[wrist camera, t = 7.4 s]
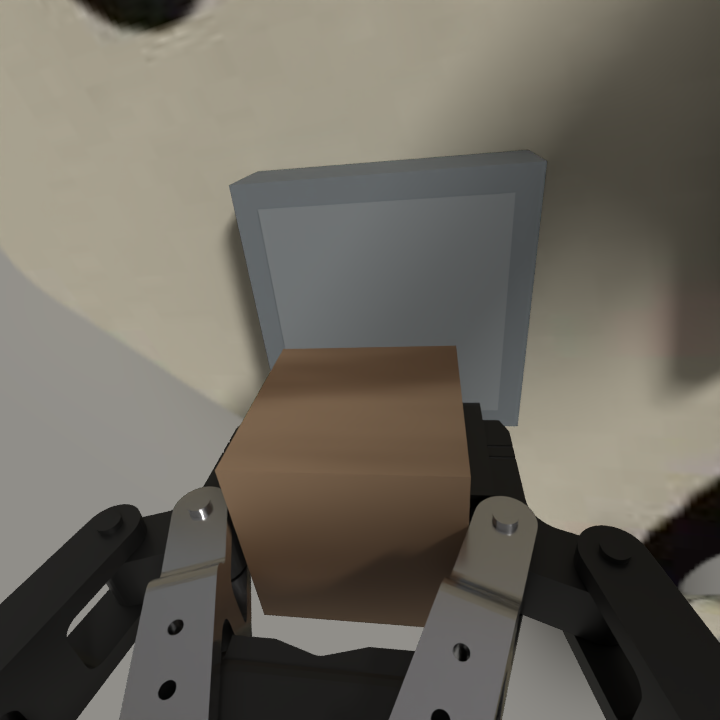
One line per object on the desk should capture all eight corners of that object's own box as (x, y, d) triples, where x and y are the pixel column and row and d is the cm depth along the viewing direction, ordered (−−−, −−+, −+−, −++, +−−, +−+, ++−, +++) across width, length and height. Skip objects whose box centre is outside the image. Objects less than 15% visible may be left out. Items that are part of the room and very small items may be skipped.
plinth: (257, 171, 21) (228, 185, 18) (528, 150, 19) (547, 161, 16) (298, 386, 27) (281, 423, 24) (506, 386, 25) (517, 426, 22)
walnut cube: (283, 349, 13) (214, 470, 9) (456, 345, 12) (471, 477, 8) (308, 473, 16) (264, 614, 11) (454, 477, 15) (464, 630, 11)
